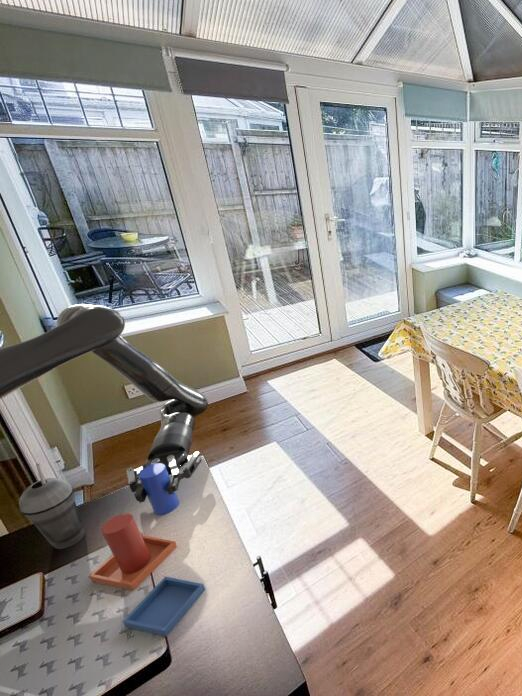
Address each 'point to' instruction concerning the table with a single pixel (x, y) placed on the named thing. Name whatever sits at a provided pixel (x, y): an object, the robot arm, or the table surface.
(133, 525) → the red canister
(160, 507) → the blue canister
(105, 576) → the terracotta tray
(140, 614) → the blue tray
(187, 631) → the table surface
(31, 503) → the beverage cup
